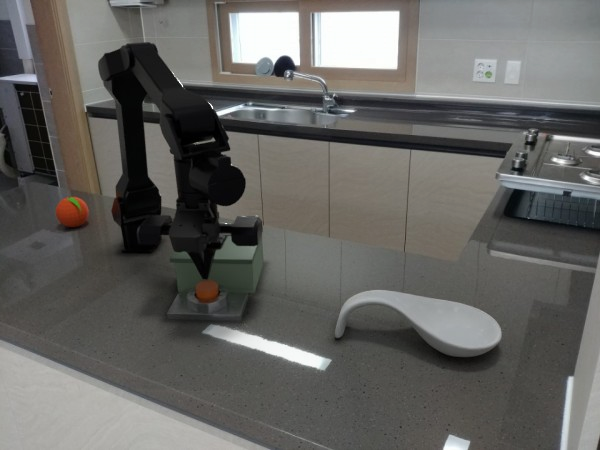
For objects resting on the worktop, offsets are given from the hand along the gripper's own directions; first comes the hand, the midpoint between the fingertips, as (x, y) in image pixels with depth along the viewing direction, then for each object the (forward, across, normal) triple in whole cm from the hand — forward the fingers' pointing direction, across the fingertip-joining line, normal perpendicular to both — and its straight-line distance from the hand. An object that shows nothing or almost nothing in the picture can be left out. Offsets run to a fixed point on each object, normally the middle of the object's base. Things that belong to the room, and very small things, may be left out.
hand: (205, 278), depth 87 cm
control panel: (+6, 0, 0) cm, 6 cm away
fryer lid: (0, 0, +11) cm, 11 cm away
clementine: (+6, -39, +33) cm, 52 cm away
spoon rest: (+6, +33, -8) cm, 34 cm away
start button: (+3, 0, 0) cm, 3 cm away
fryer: (+6, 0, +11) cm, 12 cm away
